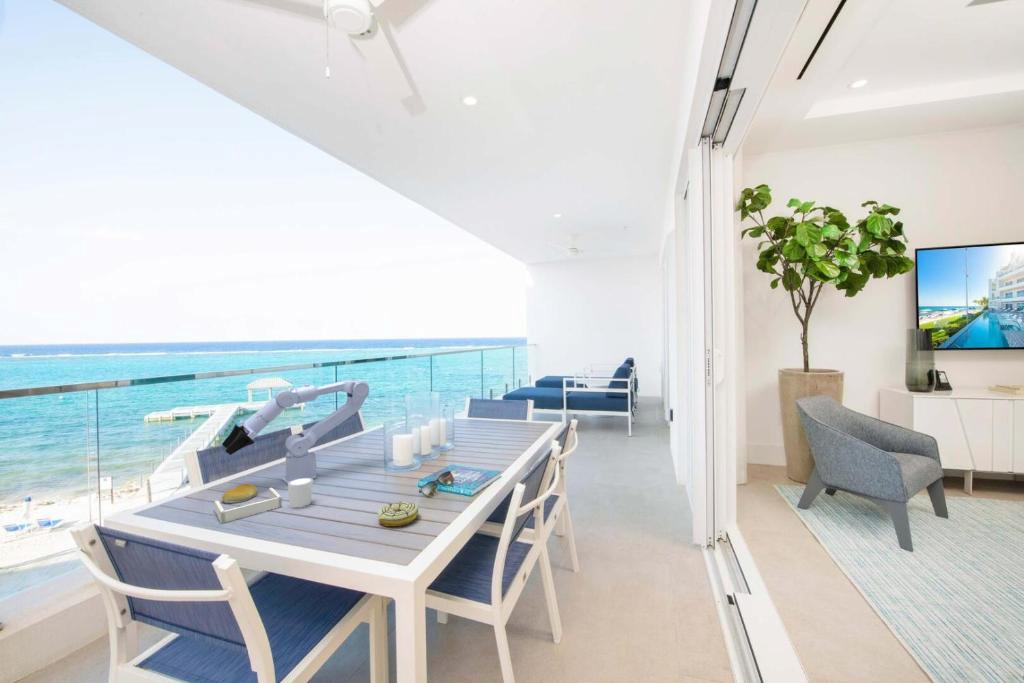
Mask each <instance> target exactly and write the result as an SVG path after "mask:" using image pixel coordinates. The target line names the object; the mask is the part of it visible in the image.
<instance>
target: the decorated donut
mask: <svg viewBox="0 0 1024 683" xmlns="http://www.w3.org/2000/svg"><path fill="white" fill-rule="evenodd" d="M418 515H419V506H418V504H417V503H415V502H413V501H396V502H392V503H389V504H387V505H384V507H382V508H380V510H379V511H378V512H377V520H378V523H379V524H380V525H383V526H385V525H387V526H386V527H390V526H393V527H394V526H399V527H402V525H403V526H406V524H407V525H408V523H409V524H411V523H413V522H414V521H415V520H416V518H417V516H418ZM414 519H415V520H414ZM413 520H414V521H413ZM410 522H411V523H410Z"/></svg>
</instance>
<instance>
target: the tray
mask: <svg viewBox="0 0 1024 683" xmlns="http://www.w3.org/2000/svg"><path fill="white" fill-rule="evenodd" d="M269 497H270V498H269ZM282 498H283V496H282V495H280V494H279V493H278V492H277V491H276V490H275V489H274V488H273V487H269V488H268V499H265V500H262V501H259V502H258V501H257V502H253V503H249V504H245V505H242V506H238V507H235V508H231V509H226V510H225V509H224V508H223V506H222V504H221V502H220V501H219V500H215V501H214V512H215V514H217V515H216V517H217V518H218V520H219V522H220V524H224V523H228V522H232V521H235V520H238V519H243V518H247V517H250V515H251V516H253V515H258V514H261V513H260V512H262V513H264V512H263V511H265V512H268V511H267V510H269V511H272V510H271V509H273V510H276V509H279V508H278V507H280V508H282V507H283V506H282V504H283V502H282V501H283V499H282ZM275 508H276V509H275ZM257 513H258V514H257Z"/></svg>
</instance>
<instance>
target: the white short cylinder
mask: <svg viewBox="0 0 1024 683" xmlns="http://www.w3.org/2000/svg"><path fill="white" fill-rule="evenodd" d="M313 484H314V479H312V478H299V479H295V480H292V481H290V482H289V483H288V484H287V488H288V490H287V492H288V498H289V499H288V500H289V507H290V506H291V507H300V508H303V507H302V506H304V507H306V506H305V505H307V504H309V503H310V502H312V492H313ZM310 504H311V503H310ZM310 504H309V505H310ZM307 506H308V505H307ZM291 507H290V508H291Z"/></svg>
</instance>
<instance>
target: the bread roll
mask: <svg viewBox="0 0 1024 683" xmlns="http://www.w3.org/2000/svg"><path fill="white" fill-rule="evenodd" d="M257 495H258V488H257V487H256V486H255V485H253V484H249V483H242V484H239V485H237V486H235V487H234V488H231V489H228V490H226V491H225V492H224V493H223V495H222V497H221V498H222V499H221V500H222V502H224V503H225V504H228V503H232V504H237V502H239V503H243V502H246V501H249V500H250V499H252V497H253V498H255V497H256V496H257ZM248 499H249V500H248Z"/></svg>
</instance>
